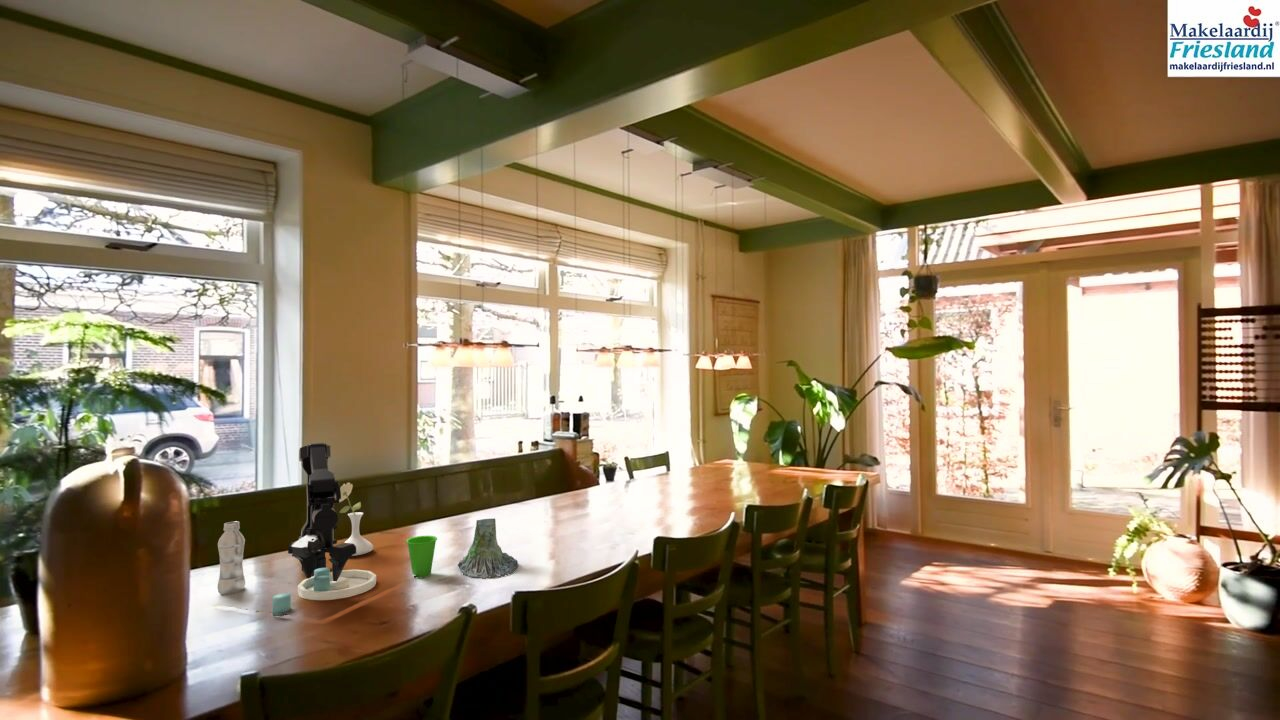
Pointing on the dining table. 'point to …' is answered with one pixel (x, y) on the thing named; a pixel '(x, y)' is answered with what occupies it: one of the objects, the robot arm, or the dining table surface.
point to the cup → (421, 554)
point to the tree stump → (486, 554)
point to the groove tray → (353, 589)
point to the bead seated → (322, 572)
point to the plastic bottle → (231, 559)
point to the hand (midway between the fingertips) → (321, 579)
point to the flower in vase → (354, 523)
